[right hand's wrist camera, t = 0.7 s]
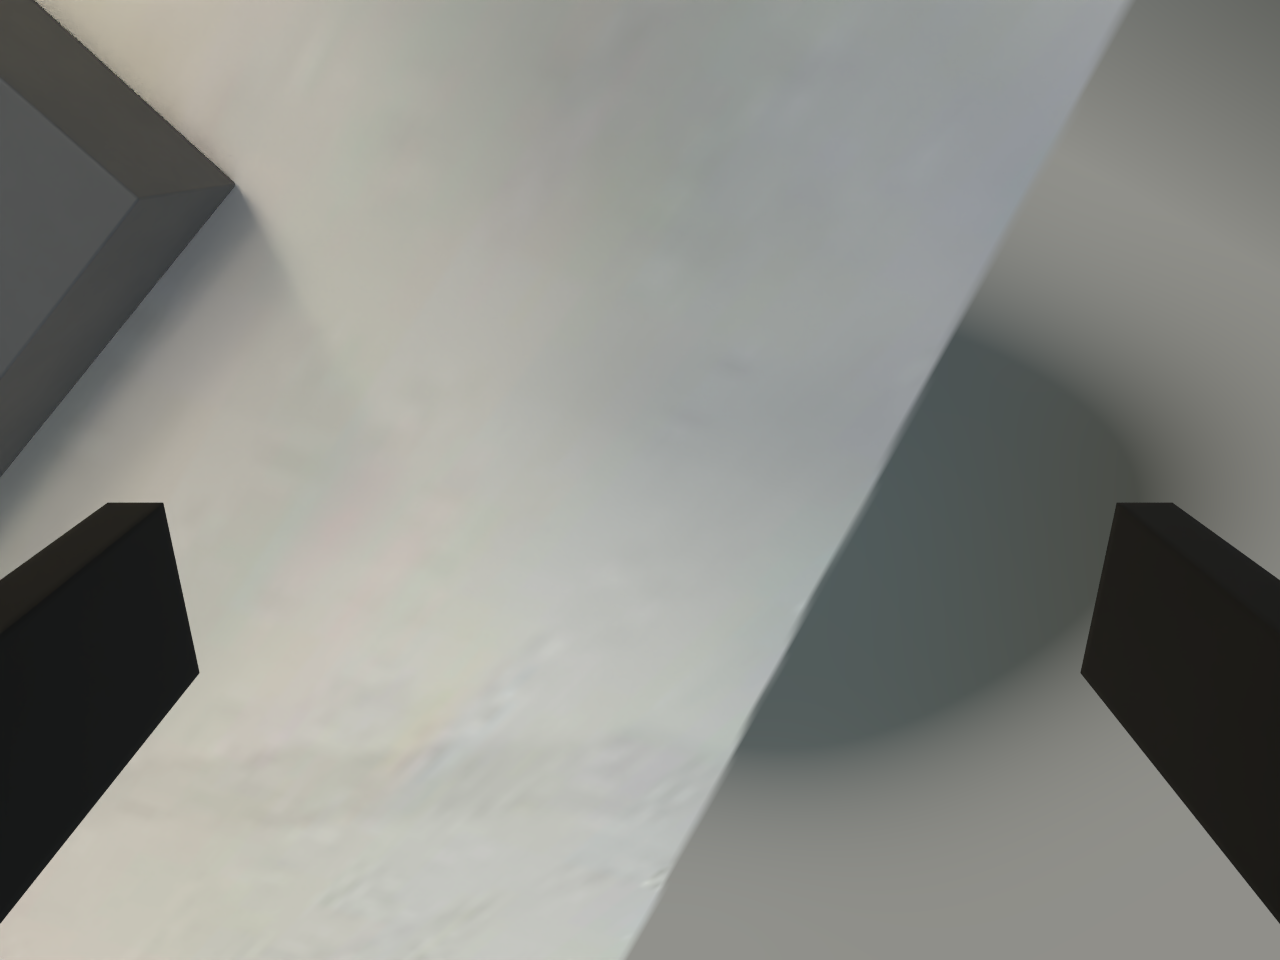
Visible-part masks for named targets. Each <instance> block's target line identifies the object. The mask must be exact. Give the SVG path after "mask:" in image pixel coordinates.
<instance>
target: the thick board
mask: <svg viewBox="0 0 1280 960" xmlns="http://www.w3.org/2000/svg"><path fill="white" fill-rule="evenodd" d="M234 185H235V184H234V182H232V181H231V180H230V179H229V178H228V177H227V176H226V175H225V174H224V173H223V172H221V171H220V170H219V169H218V168H217V167H216V166H215V165H214V164H213V163H212V162H210V161H209V160H208V159H207V158H206V157H205V156H204V155H203V154H202V153H201V152H199V151H198V150H197V149H196V148H195V147H194V146H193V145H192V144H191V143H190V142H188V141H187V140H186V139H185V138H184V137H183V136H182V135H181V134H180V133H179V132H178V131H176V130H175V129H174V128H173V127H172V126H171V125H170V124H169V123H168V122H167V121H165V120H164V119H163V118H162V117H161V116H160V115H159V114H158V113H157V112H156V111H154V110H153V109H152V108H151V107H150V106H149V105H148V104H147V103H146V102H145V101H143V100H142V99H141V98H140V97H139V96H138V95H137V94H136V93H135V92H134V91H132V90H131V89H130V88H129V87H128V86H127V85H126V84H125V83H124V82H123V81H121V80H120V79H119V78H118V77H117V76H116V75H115V74H114V73H113V72H112V71H110V70H109V69H108V68H107V67H106V66H105V65H104V64H103V63H102V62H101V61H99V60H98V59H97V58H96V57H95V56H94V55H93V54H92V53H91V52H90V51H89V50H87V49H86V48H85V47H84V46H83V45H82V44H81V43H80V42H79V41H78V40H76V39H75V38H74V37H73V36H72V35H71V34H70V33H69V32H68V31H67V30H65V29H64V28H63V27H62V26H61V25H60V24H59V23H58V22H57V21H56V20H54V19H53V18H52V17H51V16H50V15H49V14H48V13H47V12H46V11H45V10H43V9H42V8H41V7H40V6H39V5H38V4H37V3H36V2H35V1H34V0H0V476H1V475H2V474H3V473H4V472H5V470H6V469H7V468H8V467H9V465H10V464H11V463H12V462H13V460H14V459H15V458H16V457H17V455H18V454H19V453H20V452H21V450H22V449H23V448H24V447H25V445H26V444H27V443H28V442H29V440H30V439H31V438H32V437H33V436H34V434H35V433H36V432H37V431H38V429H39V428H40V427H41V426H42V424H43V423H44V422H45V421H46V419H47V418H48V417H49V416H50V414H51V413H52V412H53V411H54V409H55V408H56V407H57V406H58V404H59V403H60V402H61V401H62V400H63V398H64V397H65V396H66V395H67V393H68V392H69V391H70V390H71V388H72V387H73V386H74V385H75V383H76V382H77V381H78V380H79V378H80V377H81V376H82V375H83V373H84V372H85V371H86V370H87V368H88V367H89V366H90V365H91V364H92V362H93V361H94V360H95V359H96V357H97V356H98V355H99V354H100V352H101V351H102V350H103V349H104V347H105V346H106V345H107V344H108V342H109V341H110V340H111V339H112V337H113V336H114V335H115V334H116V332H117V331H118V330H119V329H120V328H121V326H122V325H123V324H124V323H125V321H126V320H127V319H128V318H129V316H130V315H131V314H132V313H133V311H134V310H135V309H136V308H137V306H138V305H139V304H140V303H141V301H142V300H143V299H144V298H145V296H146V295H147V294H148V293H149V292H150V290H151V289H152V288H153V287H154V285H155V284H156V283H157V282H158V280H159V279H160V278H161V277H162V275H163V274H164V273H165V272H166V270H167V269H168V268H169V267H170V265H171V264H172V263H173V262H174V260H175V259H176V258H177V257H178V256H179V254H180V253H181V252H182V251H183V249H184V248H185V247H186V246H187V244H188V243H189V242H190V241H191V239H192V238H193V237H194V236H195V234H196V233H197V232H198V231H199V229H200V228H201V227H202V226H203V224H204V223H205V222H206V221H207V220H208V218H209V217H210V216H211V215H212V213H213V212H214V211H215V210H216V208H217V207H218V206H219V205H220V203H221V202H222V201H223V200H224V198H225V197H226V196H227V195H228V193H229V192H230V191H231V190H232V188H233V187H234Z"/></svg>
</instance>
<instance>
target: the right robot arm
mask: <svg viewBox="0 0 1280 960" xmlns="http://www.w3.org/2000/svg"><path fill="white" fill-rule="evenodd" d="M198 674H199V668H198V664H197V659H196V654H195V650H194V645H193V640H192V636H191V631H190V626H189V621H188V617H187V612H186V607H185V603H184V598H183V593H182V589H181V584H180V579H179V575H178V570H177V565H176V560H175V556H174V551H173V546H172V542H171V537H170V532H169V528H168V523H167V518H166V513H165V509H164V504H163V503H107V504H105V505H104V506H102V507H101V508H100V509H98V510H97V511H95V512H94V513H93V514H91V515H90V516H89V517H87V518H86V519H84V520H83V521H82V522H80V523H79V524H77V525H76V526H75V527H73V528H72V529H71V530H69V531H68V532H66V533H65V534H64V535H62V536H61V537H59V538H58V539H57V540H55V541H54V542H53V543H51V544H50V545H48V546H47V547H46V548H44V549H43V550H41V551H40V552H39V553H37V554H36V555H35V556H33V557H32V558H30V559H29V560H28V561H26V562H25V563H23V564H22V565H21V566H19V567H18V568H17V569H15V570H14V571H12V572H11V573H10V574H8V575H7V576H5V577H4V578H3V579H1V580H0V923H1V922H2V921H3V919H4V918H5V917H6V916H7V914H8V913H9V912H10V911H11V909H12V908H13V907H14V906H15V904H16V903H17V902H18V901H19V899H20V898H21V897H22V896H23V894H24V893H25V892H26V891H27V889H28V888H29V887H30V886H31V884H32V883H33V882H34V880H35V879H36V878H37V877H38V875H39V874H40V873H41V872H42V870H43V869H44V868H45V867H46V865H47V864H48V863H49V862H50V860H51V859H52V858H53V857H54V855H55V854H56V853H57V852H58V850H59V849H60V848H61V846H62V845H63V844H64V843H65V841H66V840H67V839H68V838H69V836H70V835H71V834H72V833H73V831H74V830H75V829H76V828H77V826H78V825H79V824H80V823H81V821H82V820H83V819H84V818H85V816H86V815H87V814H88V813H89V811H90V810H91V809H92V807H93V806H94V805H95V804H96V802H97V801H98V800H99V799H100V797H101V796H102V795H103V794H104V792H105V791H106V790H107V789H108V787H109V786H110V785H111V784H112V782H113V781H114V780H115V779H116V777H117V776H118V775H119V774H120V772H121V771H122V770H123V768H124V767H125V766H126V765H127V763H128V762H129V761H130V760H131V758H132V757H133V756H134V755H135V753H136V752H137V751H138V750H139V748H140V747H141V746H142V745H143V743H144V742H145V741H146V740H147V738H148V737H149V736H150V734H151V733H152V732H153V731H154V729H155V728H156V727H157V726H158V724H159V723H160V722H161V721H162V719H163V718H164V717H165V716H166V714H167V713H168V712H169V711H170V709H171V708H172V707H173V706H174V704H175V703H176V702H177V701H178V699H179V698H180V697H181V695H182V694H183V693H184V692H185V690H186V689H187V688H188V687H189V685H190V684H191V683H192V682H193V680H194V679H195V678H196V677H197V675H198ZM1081 674H1082V675H1083V677H1084V678H1085V679H1086V680H1087V682H1088V683H1089V684H1090V685H1091V687H1092V688H1093V689H1094V690H1095V692H1096V693H1097V694H1098V695H1099V697H1100V698H1101V699H1102V700H1103V702H1104V703H1105V704H1106V706H1107V707H1108V708H1109V709H1110V711H1111V712H1112V713H1113V714H1114V716H1115V717H1116V718H1117V719H1118V721H1119V722H1120V723H1121V724H1122V726H1123V727H1124V728H1125V729H1126V731H1127V732H1128V733H1129V734H1130V736H1131V737H1132V738H1133V740H1134V741H1135V742H1136V743H1137V744H1138V746H1139V747H1140V748H1141V750H1142V751H1143V752H1144V753H1145V755H1146V756H1147V757H1148V758H1149V760H1150V761H1151V762H1152V763H1153V765H1154V766H1155V767H1156V768H1157V770H1158V771H1159V772H1160V774H1161V775H1162V776H1163V777H1164V779H1165V780H1166V781H1167V782H1168V784H1169V785H1170V786H1171V787H1172V788H1173V790H1174V791H1175V792H1176V794H1177V795H1178V796H1179V797H1180V799H1181V800H1182V801H1183V802H1184V804H1185V805H1186V806H1187V807H1188V809H1189V810H1190V811H1191V812H1192V814H1193V815H1194V816H1195V818H1196V819H1197V820H1198V821H1199V823H1200V824H1201V825H1202V826H1203V828H1204V829H1205V830H1206V831H1207V833H1208V834H1209V835H1210V836H1211V838H1212V839H1213V840H1214V841H1215V843H1216V844H1217V845H1218V846H1219V848H1220V849H1221V850H1222V852H1223V853H1224V854H1225V855H1226V857H1227V858H1228V859H1229V860H1230V862H1231V863H1232V864H1233V865H1234V867H1235V868H1236V869H1237V870H1238V872H1239V873H1240V874H1241V875H1242V877H1243V878H1244V879H1245V880H1246V882H1247V883H1248V884H1249V886H1250V887H1251V888H1252V889H1253V891H1254V892H1255V893H1256V894H1257V896H1258V897H1259V898H1260V899H1261V901H1262V902H1263V903H1264V904H1265V906H1266V907H1267V908H1268V909H1269V911H1270V912H1271V913H1272V914H1273V916H1274V917H1275V918H1276V919H1277V921H1278V922H1279V923H1280V580H1279V579H1277V578H1276V577H1275V576H1273V575H1272V574H1270V573H1269V572H1268V571H1266V570H1265V569H1263V568H1262V567H1261V566H1259V565H1258V564H1256V563H1255V562H1254V561H1252V560H1251V559H1250V558H1248V557H1247V556H1245V555H1244V554H1243V553H1241V552H1240V551H1239V550H1237V549H1236V548H1234V547H1233V546H1232V545H1230V544H1229V543H1227V542H1226V541H1225V540H1223V539H1222V538H1221V537H1219V536H1218V535H1216V534H1215V533H1214V532H1212V531H1211V530H1209V529H1208V528H1207V527H1205V526H1204V525H1203V524H1201V523H1200V522H1198V521H1197V520H1196V519H1194V518H1193V517H1191V516H1190V515H1189V514H1187V513H1186V512H1185V511H1183V510H1182V509H1180V508H1179V507H1177V506H1176V505H1175V504H1173V503H1117V504H1116V509H1115V513H1114V518H1113V523H1112V528H1111V532H1110V537H1109V542H1108V546H1107V551H1106V556H1105V561H1104V565H1103V570H1102V574H1101V579H1100V584H1099V589H1098V593H1097V598H1096V603H1095V608H1094V612H1093V617H1092V622H1091V626H1090V631H1089V636H1088V640H1087V645H1086V650H1085V654H1084V659H1083V664H1082V668H1081Z"/></svg>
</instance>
